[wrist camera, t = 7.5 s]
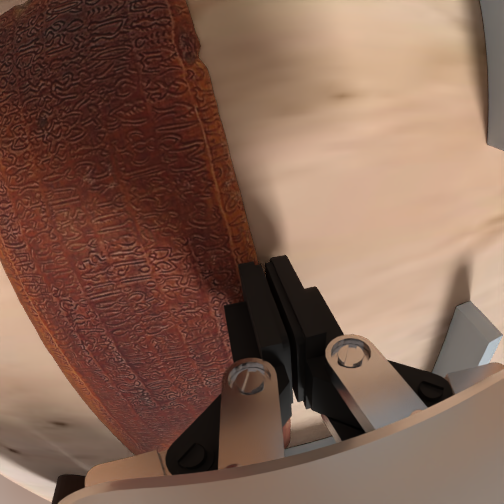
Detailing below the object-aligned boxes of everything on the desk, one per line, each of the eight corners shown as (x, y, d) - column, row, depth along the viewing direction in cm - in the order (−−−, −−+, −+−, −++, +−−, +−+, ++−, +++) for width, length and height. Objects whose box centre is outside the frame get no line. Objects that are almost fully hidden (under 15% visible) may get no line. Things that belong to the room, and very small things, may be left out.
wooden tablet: (292, 436, 20) (298, 455, 18) (155, 459, 19) (156, 479, 18) (205, -62, 6) (208, -84, 5) (-50, 47, 6) (-76, 47, 4)
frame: (475, -70, 5) (523, -79, 2) (425, 407, 21) (442, 436, 18) (190, -126, 4) (193, -177, 1) (276, 457, 20) (285, 494, 17)
